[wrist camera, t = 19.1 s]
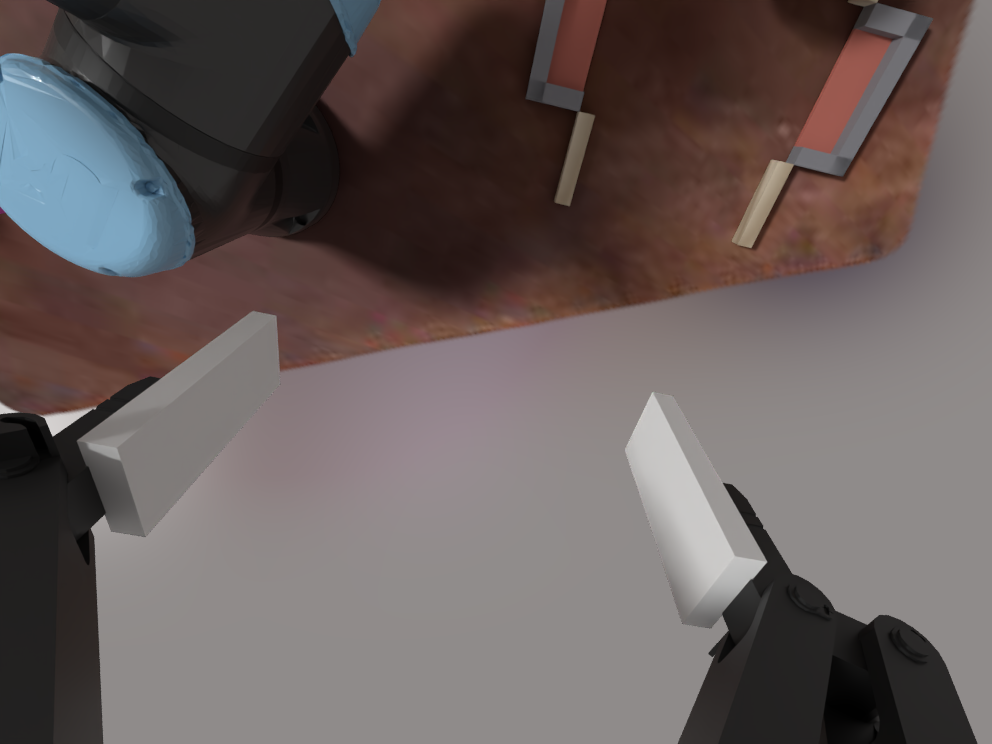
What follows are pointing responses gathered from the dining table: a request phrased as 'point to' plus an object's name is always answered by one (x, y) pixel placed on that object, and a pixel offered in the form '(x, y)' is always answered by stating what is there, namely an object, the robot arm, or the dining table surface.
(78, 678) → the robot arm
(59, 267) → the dining table surface
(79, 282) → the dining table surface
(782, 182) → the box
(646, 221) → the dining table surface
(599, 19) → the trap bays
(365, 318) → the dining table surface
